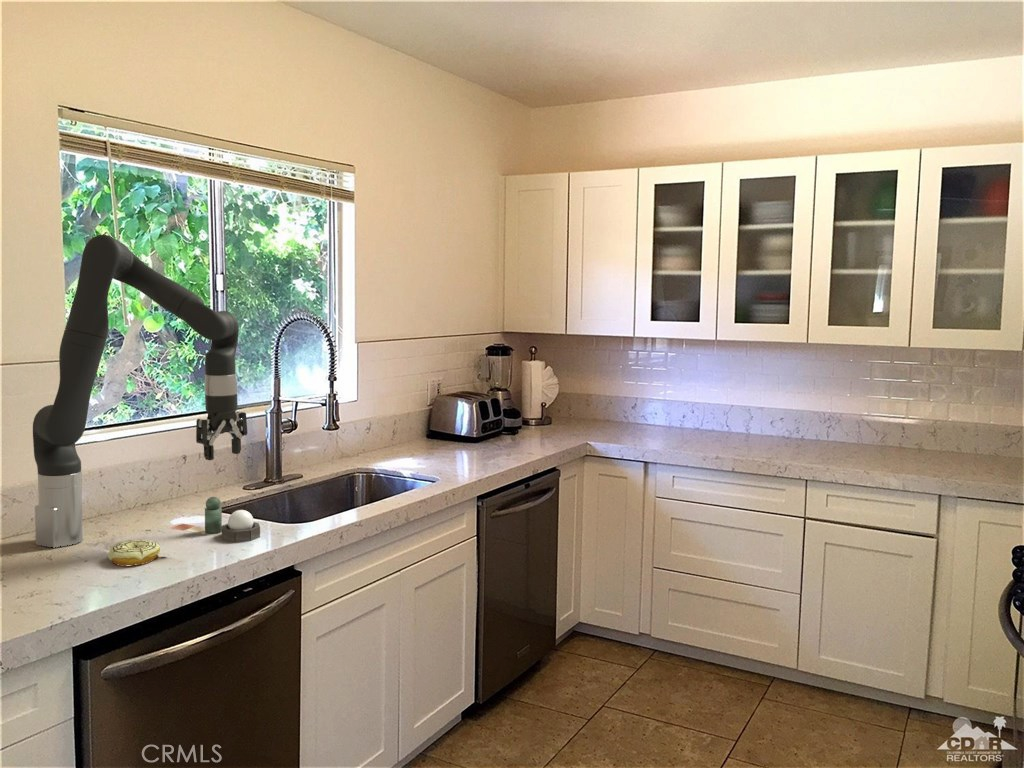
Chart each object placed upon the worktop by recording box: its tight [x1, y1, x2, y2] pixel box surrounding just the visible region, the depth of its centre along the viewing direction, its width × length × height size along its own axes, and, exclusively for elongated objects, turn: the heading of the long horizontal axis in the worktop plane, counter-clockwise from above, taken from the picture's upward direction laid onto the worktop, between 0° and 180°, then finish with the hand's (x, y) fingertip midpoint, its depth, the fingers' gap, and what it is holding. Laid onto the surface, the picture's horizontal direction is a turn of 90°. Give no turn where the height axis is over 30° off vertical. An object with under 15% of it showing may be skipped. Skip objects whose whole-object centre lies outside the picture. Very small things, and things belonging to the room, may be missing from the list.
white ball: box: [227, 509, 254, 531], centre depth 206 cm, size 6×6×6 cm
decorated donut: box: [107, 539, 161, 566], centre depth 190 cm, size 10×11×4 cm
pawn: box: [204, 496, 223, 535], centre depth 209 cm, size 4×4×9 cm
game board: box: [170, 521, 261, 543], centre depth 209 cm, size 10×25×4 cm, turn 69°
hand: (223, 456), depth 207 cm, fingers open, 8 cm apart
